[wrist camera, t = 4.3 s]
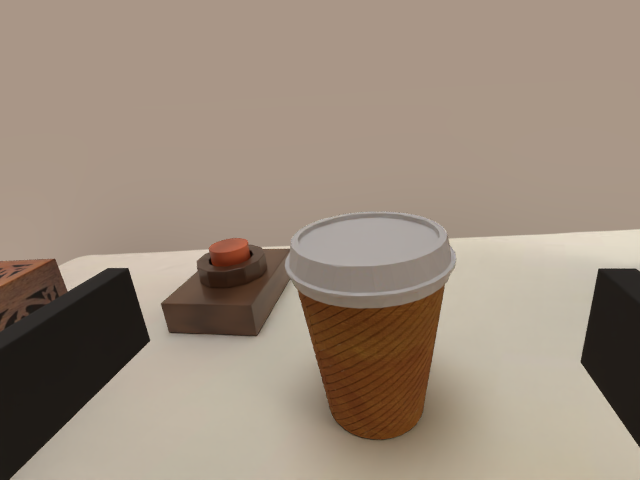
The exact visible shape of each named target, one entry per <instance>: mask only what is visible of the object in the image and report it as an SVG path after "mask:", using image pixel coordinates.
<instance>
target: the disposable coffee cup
mask: <svg viewBox="0 0 640 480" xmlns="http://www.w3.org/2000/svg"><path fill="white" fill-rule="evenodd" d="M455 263H456V255H455V252H454V250H453V249H452V247H451V246H450V245H449V240H448V236H447V232H446V231H445V229H444V228H443V227H442V226H441V225H440V224H438V223H437V222H435V221H433V220H430V219H428V218H425V217H422V216H418V215H412V214H407V213H400V212H360V213H350V214H343V215H338V216H334V217H329V218H326V219H322V220H319V221H316V222H313V223H311V224H309V225H307V226H305V227H303V228H302V229H300V230H299V231H297V232H296V233H295V235H294V236H293V237H292V239H291V246H290V253H289V254H288V256H287V258H286V260H285V269H286V272H287V275H288V276H289V278H290V279H291V280H292V282H293V284H294V286H295V287H296V288H297V289H298V293H299V297H300V300H301V303H302V308H303V311H304V315H305V319H306V322H307V326H308V329H309V333H310V337H311V341H312V344H313V348H314V351H315V354H316V359H317V362H318V366H319V369H320V373H321V377H322V381H323V384H324V388H325V391H326V396H327V399H328V403H329V407H330V410H331V413H332V415H333V417H334V419H335V420H336V422H337V423H339V424H340V425H341V426H342V427H343V428H344V429H345V430H347V431H349V432H350V433H352V434H355V435H357V436H360V437H364V438H369V439H388V438H394V437H397V436H400V435H402V434H404V433H406V432H407V431H409V430H411V429H412V428H413V427H414V426H415V425H416V424H417V422H418V421H419V419H420V417H421V416H422V413H423V408H424V401H425V395H426V389H427V384H428V379H429V372H430V367H431V362H432V356H433V349H434V344H435V339H436V332H437V327H438V322H439V315H440V310H441V304H442V299H443V293H444V286H445V283H446V282H447V281H448V278H449V276H450V273H451V272H452V271H453V270H454V268H455Z"/></svg>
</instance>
